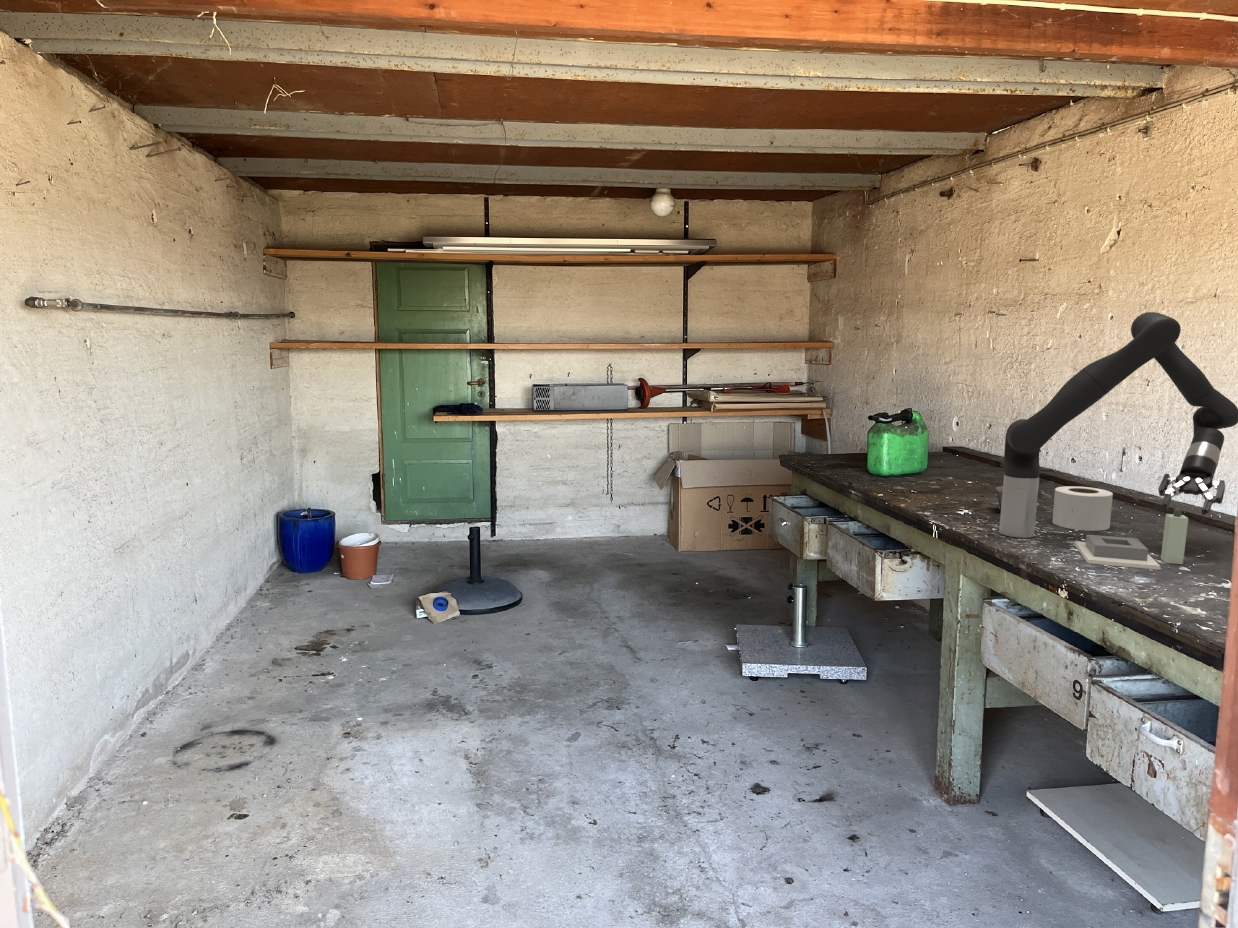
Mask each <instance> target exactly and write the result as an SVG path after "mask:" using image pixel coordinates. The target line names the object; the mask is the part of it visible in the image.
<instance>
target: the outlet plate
mask: <svg viewBox="0 0 1238 928" xmlns="http://www.w3.org/2000/svg"><path fill="white" fill-rule="evenodd" d="M1073 545H1074V546H1075V547H1076V549H1077V550H1078V552H1079V553H1080V554H1081V556H1082V557H1083V560H1085V561H1086V563H1087V564H1090V565H1102V566H1104V565H1105V566H1111V567H1112V566H1114V567H1115V566H1116V567H1126V568H1134V569H1135V568H1137V569H1138V568H1139V569H1146V570H1147V569H1148V570H1158V571H1160V570H1161V565H1160V564H1159V563H1158V562H1157V561H1156V560H1155V559H1154V558H1153V557H1152V556H1151V555H1150V554H1149V548H1147V547H1146V546H1145V544H1143V543H1142V542H1141V541H1140V540H1139V539H1138V538H1134V537H1122V536H1110V535H1108V536H1107V535H1096V534H1086V536H1085V541H1078V540H1077V541H1076V540H1075V541H1074V544H1073Z"/></svg>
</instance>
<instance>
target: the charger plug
mask: <svg viewBox="0 0 1238 928" xmlns="http://www.w3.org/2000/svg"><path fill="white" fill-rule="evenodd" d="M1182 511H1183V509H1182V508H1180V507H1174V508H1173V514H1172V513H1165V521H1164V527H1163V536H1162V537H1163V538H1162V545H1161V555H1160V559H1161V561H1163V563H1165V564H1174V565H1183V564H1184V558H1185V549H1186V542H1187V534H1188V526H1189V525H1188V524H1189V517H1188V516H1185V515H1184V514H1182Z"/></svg>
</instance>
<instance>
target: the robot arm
mask: <svg viewBox="0 0 1238 928" xmlns="http://www.w3.org/2000/svg"><path fill="white" fill-rule="evenodd" d="M1181 329H1182V327H1181V325H1180V323H1179V321H1178V320H1176V319H1175V318H1173V317H1171V316H1169V315H1166V314H1163V313H1160V312H1154V311H1147V312H1143V313H1141V314H1139V315H1138V316H1137V317H1135V319H1133V322H1132V323H1131V326H1130V332H1131V337H1132V338H1133V339H1132V340H1130V341H1129V342H1128V343H1127V344H1126V345H1124V346H1123V347H1122V348H1120V349H1118V350H1117V351H1114V352H1112V353H1110V354H1108V355H1106V356H1104V357H1103V356H1102V357H1101V358H1098V359H1097V360H1095V361H1093V362H1091V363H1088V364H1087V365H1086V366H1085V367H1083V368H1082V369H1081V370H1079V371H1078V372H1076V374H1074V375H1073V376H1072V377H1071V378H1070V379H1069V380H1067V381H1066V382H1065V383H1064V384H1063V386H1062V387H1061V388H1060V389H1059V390H1058V391H1057V392H1056V393H1055V395H1054V396H1053V397H1052V398H1051V400H1050V401H1048V403H1046V405H1045V406H1044V407H1042V408H1041V409H1040V410H1038V411H1037V412H1035V414H1033V415H1031V416H1030V417H1029V418H1022V419H1017V420H1015V421H1013V422H1012V423H1011V424H1010V425H1009V426H1008V427H1007V429H1006V433H1005V438H1004V439H1005V441H1004V442H1005V443H1004V454H1003V455H1004V456H1003V466H1004V467H1003V468H1004V469H1003V470H1004V471H1003V485H1002V486H1003V493H1002V505H1001V509H1000V519H999V528H998V529H999V530H998V533H999V534H1001V535H1002V536H1006V537H1012V538H1023V539H1025V538H1026V539H1027V538H1033V537H1035V531H1036V530H1035V528H1036V527H1035V526H1036V518H1037V507H1038V506H1037V505H1038V495H1039V487H1040V486H1039V485H1040V484H1039V483H1040V473H1041V467H1040V451H1041V450H1040V449H1042V447H1044V445H1046V444H1047V443H1048V441H1050V440H1051V438H1053V437H1054V436H1055V435H1056V433H1058V432H1059V431H1060V430H1061V429H1062V428H1063V427H1064V426H1066V424H1068V423H1069V422H1071V421H1073V420H1074V419H1075V418H1077V417H1078V416H1080V415H1081V414H1082V413H1084V412H1085V411H1086V410H1088V409H1089V408H1091V407H1092V406H1094V404H1096V403H1097V402H1099V401H1100V400H1101V399H1102V398H1104V397H1105V396H1106V395H1108V394H1109V393H1110V392H1111V391H1112V390H1113V389H1114V388H1116V387H1117V386H1118V385H1120V384H1122V382H1124V381H1125V380H1126V379H1128V377H1129V376H1131V375H1132V374H1133V373H1134V372H1135V371H1137V370H1138V369H1140V368H1141V367H1142V366H1144V365H1146V364H1147V363H1149V362H1150V361H1151V360H1153V359H1154V360H1155V361H1156V362H1157V363H1158V365H1159V366H1160V367H1161V368H1162V369H1163V370H1164V372H1165V374H1167V376H1168V377H1169V379H1170V380H1171V381H1172V383H1173V385H1175V388H1177V390H1178V391H1179V393H1180V394H1181V396H1182V397H1183V398H1184V399H1185V401H1186V402H1187V403H1188V405H1190V406H1193V407H1199V408H1197V409H1196V410H1195V411H1194V412H1193V414H1192V415H1193V416H1192V424H1193V425H1192V426H1193V436H1192V439H1191V443H1190V445H1189V448H1188V450H1186V453H1185V456H1184V459H1183V461H1182V462H1183V463H1182V466H1181V468H1180V471H1179V474H1178V475H1176V476H1171V475H1170V474H1169V473H1165V474H1164V475H1163V477H1162V480H1161V481H1160V484H1159V485H1158V489H1157V490H1158V496H1160V497H1163V498H1162V501H1161V504H1162V508H1163V509H1164V510H1167V511H1168V510H1169V507H1170V504H1171V502H1172V498H1174V497H1176V496H1179V495H1182V493H1183V494H1186V495H1194V496H1198V495H1201V497H1202V498H1203V499H1204V502H1203V505H1202V508H1201V514H1202V515H1203V516H1206V515H1207V514H1209V513H1210V512H1211V509H1212V506H1213V504H1218V505H1221V504H1222V503H1223V500H1224V497H1225V496H1224V495H1225V491H1226V482H1225V480H1223V479H1220V480H1219V481H1213V480H1214V476H1215V474H1216V471H1217V467H1218V466H1219V461H1220V457H1221V456H1220V455H1221V451H1222V448H1223V445H1224V443H1225V435H1224V433H1223V432H1222V431H1221V430H1223V429H1228V428H1232V427H1234V426H1236V425H1237V424H1238V406H1237V405H1236V404H1235V402H1233V401H1231V399H1229V398H1228V397H1226V396H1225V395H1224V394H1223V393H1221V392H1220V391H1219V390H1217V389H1216V388H1215V387H1214V386H1213V385H1212V384H1211V382H1210V381H1209V379H1208V378H1207V377H1206V374H1204V372H1203V371H1202V370H1201V369H1200V368H1199V367H1198V366H1197V365H1196V364H1195V363H1194V362H1193V361H1192V360H1191V359H1190V358H1189V357H1188V356H1187V355H1186V354H1185V353H1184V352H1183V351H1182V350H1181V349H1180V347H1179V345H1178V344H1177V343H1176V342H1177V341H1178V339H1179V338H1180V334H1181ZM1174 482H1175V483H1174ZM1173 483H1174V484H1173ZM1171 485H1172V486H1171ZM1169 486H1171V487H1169ZM1168 487H1169V488H1168ZM1213 487H1214V489H1215V491H1216V492H1215V493H1216V494H1215V495H1212V494H1211V492H1210V491H1209V490H1210V489H1211V488H1213Z"/></svg>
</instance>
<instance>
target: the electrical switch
mask: <svg viewBox="0 0 1238 928" xmlns="http://www.w3.org/2000/svg"><path fill="white" fill-rule="evenodd" d="M995 492H996V496H997V500H998V505H999V509H1000V510H1001V505H1002V493H1003V485H1000V486H996V487H995Z"/></svg>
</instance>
